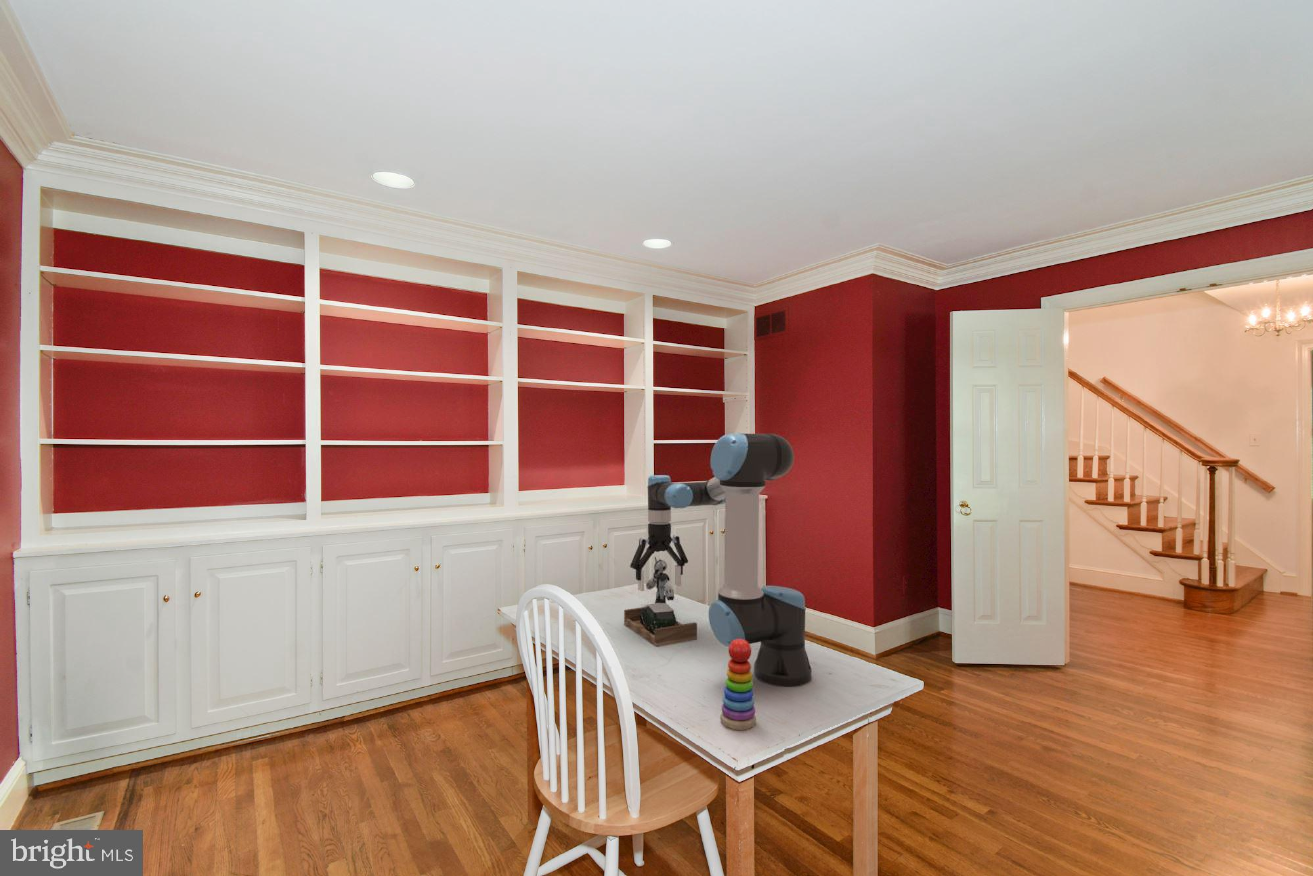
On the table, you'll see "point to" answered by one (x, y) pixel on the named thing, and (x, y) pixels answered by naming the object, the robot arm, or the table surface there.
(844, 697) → the table surface
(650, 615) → the miniature car
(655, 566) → the robot
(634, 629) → the cradle
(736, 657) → the stacking toy
